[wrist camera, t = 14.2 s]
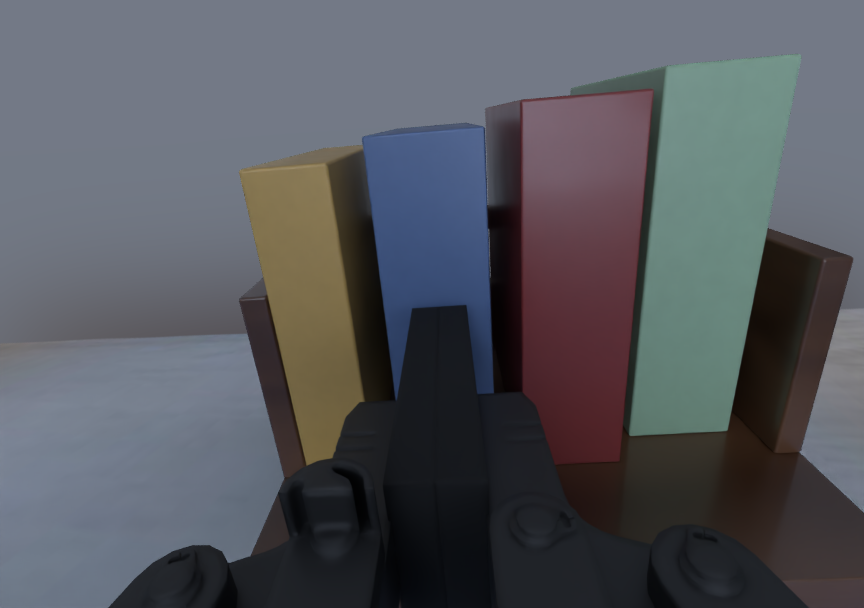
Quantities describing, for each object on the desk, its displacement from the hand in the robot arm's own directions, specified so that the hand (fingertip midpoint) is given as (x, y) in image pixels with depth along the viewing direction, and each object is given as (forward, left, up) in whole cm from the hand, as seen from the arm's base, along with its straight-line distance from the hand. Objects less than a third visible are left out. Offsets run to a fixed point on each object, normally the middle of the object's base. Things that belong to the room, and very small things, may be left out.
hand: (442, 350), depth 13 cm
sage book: (+6, +7, -4) cm, 10 cm away
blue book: (-1, +5, -4) cm, 6 cm away
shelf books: (-1, +4, -4) cm, 6 cm away
